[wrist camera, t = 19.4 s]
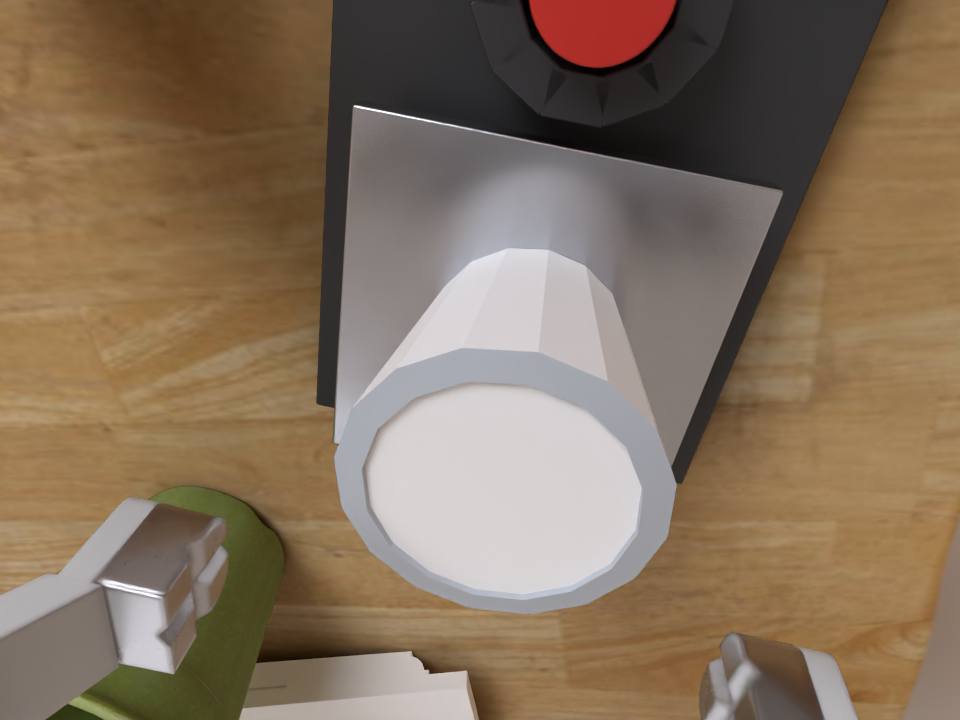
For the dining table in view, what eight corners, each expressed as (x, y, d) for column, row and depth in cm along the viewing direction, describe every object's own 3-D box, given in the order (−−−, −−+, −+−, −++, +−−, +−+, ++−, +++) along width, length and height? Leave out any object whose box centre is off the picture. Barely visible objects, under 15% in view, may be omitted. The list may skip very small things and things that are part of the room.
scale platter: (361, 99, 17) (351, 104, 16) (777, 182, 17) (785, 191, 16) (339, 430, 23) (331, 444, 22) (650, 498, 22) (652, 515, 22)
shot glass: (634, 204, 17) (664, 326, 11) (656, 424, 20) (688, 615, 14) (383, 245, 18) (283, 372, 12) (440, 443, 21) (384, 622, 15)
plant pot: (368, 619, 32) (275, 892, 22) (163, 628, 35) (1, 874, 25) (282, 424, 27) (111, 671, 17) (47, 452, 29) (-216, 679, 20)
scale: (356, -203, 16) (313, -239, 14) (912, -101, 16) (977, -119, 13) (326, 387, 25) (297, 432, 23) (678, 464, 25) (689, 519, 22)
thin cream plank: (470, 569, 37) (13, 617, 39) (460, 657, 30) (-96, 710, 32) (494, 715, 39) (62, 752, 42) (491, 828, 32) (-29, 866, 35)
